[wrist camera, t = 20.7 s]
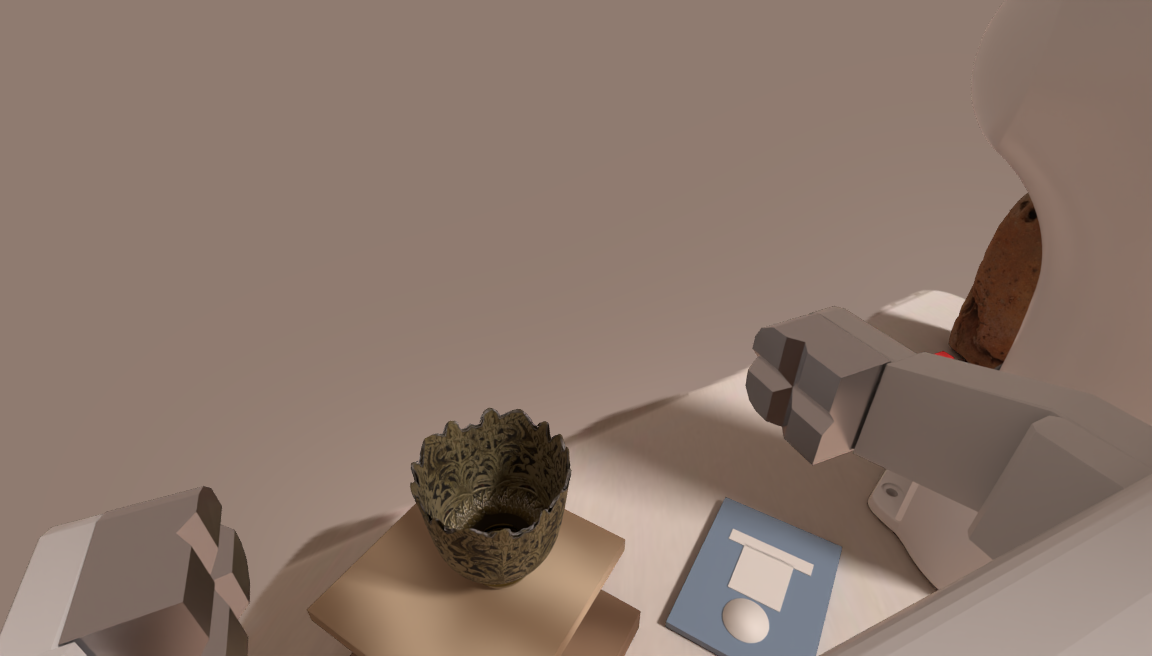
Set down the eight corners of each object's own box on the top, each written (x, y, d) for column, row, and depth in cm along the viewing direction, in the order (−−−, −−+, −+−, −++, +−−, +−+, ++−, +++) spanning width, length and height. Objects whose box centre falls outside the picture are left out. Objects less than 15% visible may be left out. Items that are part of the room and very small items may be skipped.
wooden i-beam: (476, 535, 44) (460, 442, 38) (638, 627, 38) (648, 534, 32) (326, 706, 34) (276, 616, 28) (514, 869, 28) (498, 794, 22)
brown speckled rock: (1073, 382, 59) (1187, 199, 48) (1033, 405, 56) (1145, 216, 45) (970, 331, 67) (1048, 163, 56) (930, 349, 64) (1004, 176, 53)
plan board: (724, 501, 46) (725, 496, 46) (840, 551, 43) (842, 546, 42) (665, 626, 38) (666, 620, 38) (803, 703, 34) (805, 697, 34)
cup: (451, 657, 27) (428, 555, 22) (419, 534, 32) (395, 433, 28) (593, 595, 29) (598, 493, 25) (540, 491, 35) (537, 392, 30)
